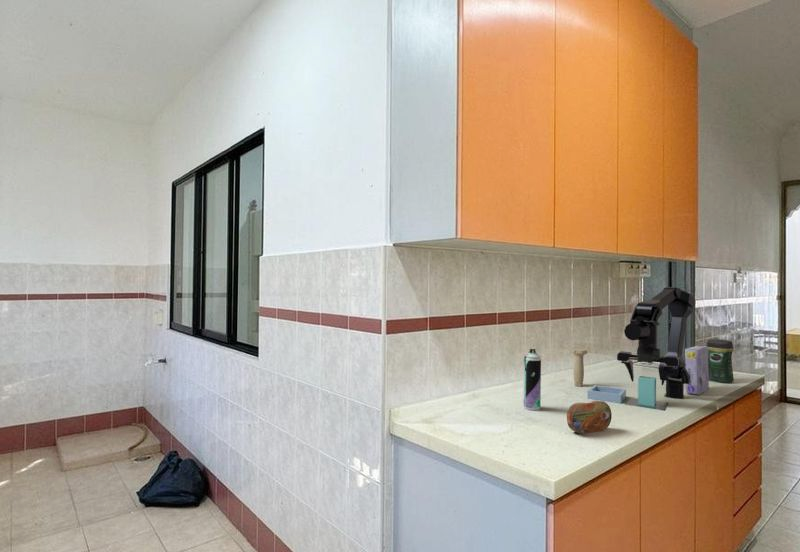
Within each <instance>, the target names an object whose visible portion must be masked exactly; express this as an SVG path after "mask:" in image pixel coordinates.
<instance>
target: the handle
mask: <svg viewBox="0 0 800 552" xmlns="http://www.w3.org/2000/svg"><path fill="white" fill-rule="evenodd" d="M570 353H572V354H573V355H574V360H573V362H574V363H573V381H574V382H573V383H574V386H575V387H583V386H584V380H585V379H584V377H585V369H584V368H585V367H584V356H585V355H586V354H588V350H587V349H583V348H573V347H572V348H571V349H570Z"/></svg>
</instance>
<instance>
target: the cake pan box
mask: <svg viewBox="0 0 800 552" xmlns="http://www.w3.org/2000/svg"><path fill="white" fill-rule="evenodd" d="M684 361H685V363H686V370H687V372H688V374H689V376H690V383H689V384H685V393H686V394H689V395H695V396H700V395H701V394H702V393H705V392H706V391H707V390H709V389H710V388H709V387H710V385H709V384H710V382H709V381H710V380H709V372H708V346H707V345H705V346H704V345H695V346H692V347H688V348H685V349H684Z"/></svg>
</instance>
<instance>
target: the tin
mask: <svg viewBox="0 0 800 552" xmlns="http://www.w3.org/2000/svg"><path fill="white" fill-rule="evenodd" d="M612 418H613V417H612V409H611V407H610V405H609V404H608V402H606V401H600V400H589V401H583V402H575V403H573V404H572V405H570V407H569V408H568V409H567V413H566V421H567V422H566V423H567V426H568V428H569V429H570V430H571V431H573V432H574V433H577V434H580V435H586V434H591V433H598V432H603V431H605V430H606V429H608V428H609V426H610V425H611V422H612Z"/></svg>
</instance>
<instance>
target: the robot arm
mask: <svg viewBox="0 0 800 552" xmlns="http://www.w3.org/2000/svg"><path fill="white" fill-rule="evenodd" d="M695 305H696V299H695V297H694V296H693V295H692V294H691V293H689V292H688V291H687V292H686V291H684V290H682V289H681V288H680V287H677V286H666V287H664V288H663V289H662V290H661V291H660V292H659V293H658V294H656V295H655V296H653V297H652V298H651V299H649V300H643V301H639V302H637V304H636V306H635V307H634V310H633V312H632V314H631V317H630V320H629V323H628V324H627V325H626V326H625V327H624V330H623V331H624V335H625V337H626V338H627V339H628V340H629V341H637V340H638V342H637V343H638V346H637V349H636V354H632V351H626V350H625V351H624V350H623V351H622V350H621V351H619V352H618V353H617V354H616V355H617V356H616V359H617V360H616V361H621V362H620V363H621V364H624V365H625V367H626V369H627V371H628V373H629V374H628V375H629V376H630V381H631V382H632V383H633V382H634V381H635V376H634V364H633V360H634V361H637V362H639V363H643V362H644V363H648V364H653V363H659V365H658V375H659V380H660V381H661V386H664V384H665V393H664V396H663V397H664V398H669V399H677V400H685V398H686V396H685V395H684V392H685V391H684V385H686V384H689V383H690V376H689V374H688V372H687V370H686V363H685V358H683V348H684V342H685V334H686V333H685V332H686V327H687V319H688V318H689V316H690V315H691V314H692V313H694V312H693V311H694V307H695ZM667 306H668V307H667ZM666 307H667V308H668V311H669V313H670V314H671V321H670V328H669V335H668V342H667V343H668V344H667V349H666V351H667V352H666V353H665V354H664V355H663V356H661V349H660V348H658V326H659V325H660V322H658V321H659V319H660V318H661V316H662V315H663V309H664V308H666Z"/></svg>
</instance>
